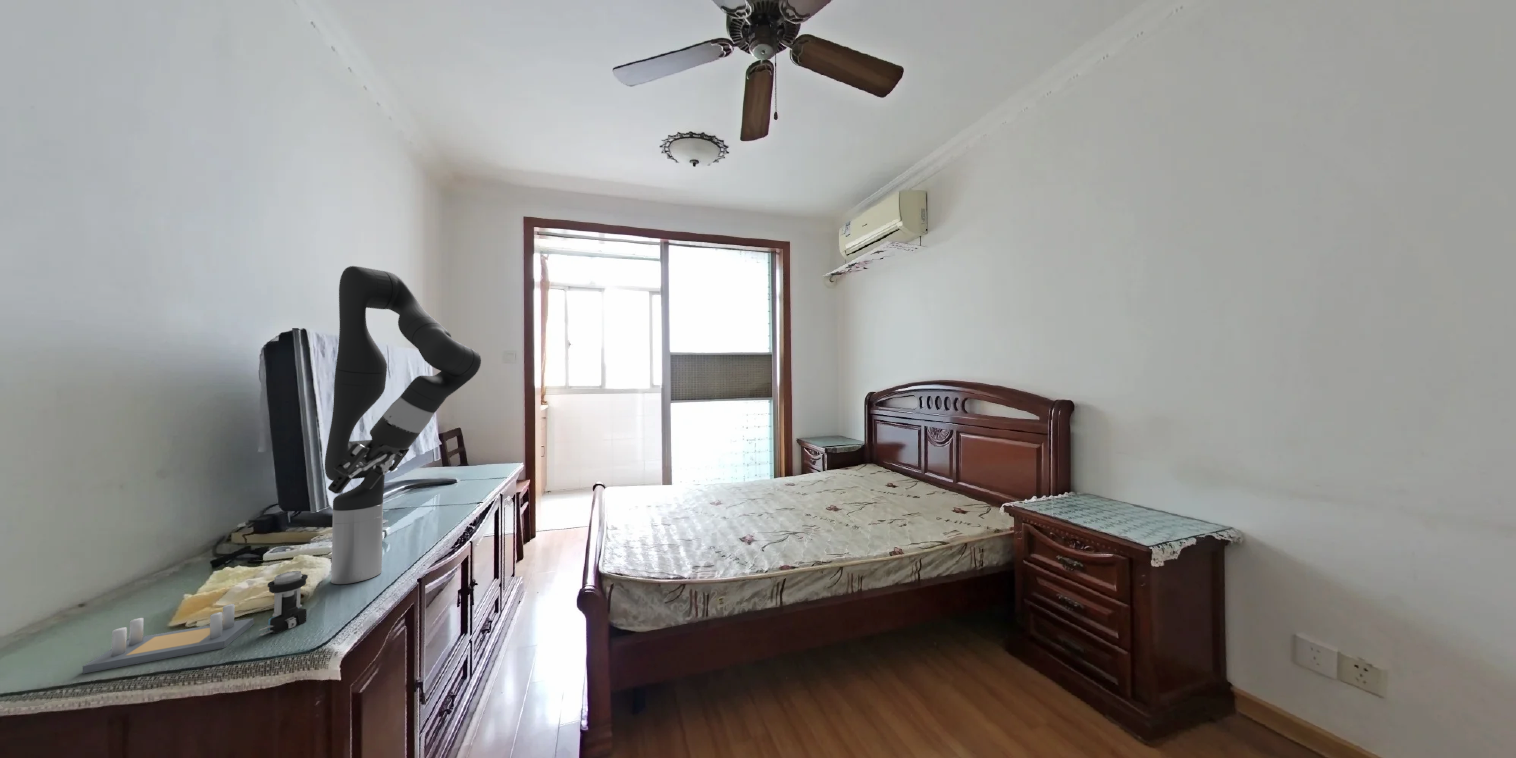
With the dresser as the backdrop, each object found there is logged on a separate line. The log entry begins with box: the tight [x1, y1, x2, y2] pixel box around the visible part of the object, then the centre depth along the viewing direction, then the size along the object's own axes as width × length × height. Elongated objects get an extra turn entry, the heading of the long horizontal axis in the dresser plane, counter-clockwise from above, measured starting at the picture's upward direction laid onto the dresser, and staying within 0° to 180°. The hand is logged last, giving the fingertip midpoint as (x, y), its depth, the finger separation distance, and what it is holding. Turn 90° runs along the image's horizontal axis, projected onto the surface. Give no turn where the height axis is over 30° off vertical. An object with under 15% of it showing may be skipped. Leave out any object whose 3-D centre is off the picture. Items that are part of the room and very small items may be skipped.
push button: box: [258, 570, 309, 637], centre depth 85 cm, size 7×5×10 cm
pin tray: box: [82, 603, 254, 674], centre depth 79 cm, size 9×16×5 cm, turn 116°
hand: (349, 489), depth 91 cm, fingers open, 8 cm apart
